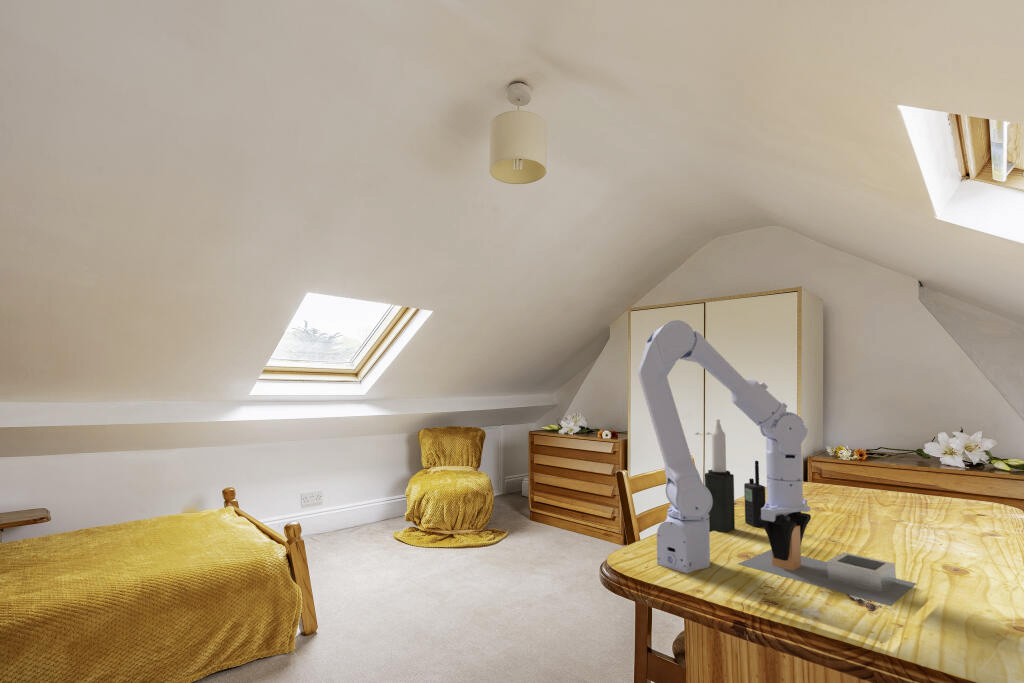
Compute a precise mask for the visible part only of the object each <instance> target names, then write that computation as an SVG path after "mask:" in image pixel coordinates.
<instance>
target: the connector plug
mask: <svg viewBox="0 0 1024 683" xmlns="http://www.w3.org/2000/svg"><path fill="white" fill-rule="evenodd" d="M785 518H786V520H787V521H790V516H787V515H785V516H784V519H785ZM801 545H802V542H800V526H799V525H795V527H794V529H793V532H792V535H791V540H790V550H789V557H788V560H787V561H784V560H780V559H776V558H774V556H773V552H772V565H774V566H777V567H781V568H785V569H789V570H795V569H797V568H799V567H801V556H802V549H801V548H802V546H801Z"/></svg>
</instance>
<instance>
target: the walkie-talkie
mask: <svg viewBox="0 0 1024 683" xmlns="http://www.w3.org/2000/svg"><path fill="white" fill-rule="evenodd" d="M759 462H760V461H759V460H755V461H754V475H755V476H754V478H755V479H754V478H749V482H745V483H744V484H743V485H744V486H743V487H744V489H743V491H744V521H745V522H744V523H745V524H748V525H749V526H752V527H755V528H764V527H763V525H762V524H761V522H760V515H761V508H763V507H764V506H765V503H766V487H765V485H762V484H760V470H759V469H760V467H759V465H760V464H759Z"/></svg>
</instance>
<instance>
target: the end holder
mask: <svg viewBox="0 0 1024 683" xmlns="http://www.w3.org/2000/svg"><path fill="white" fill-rule="evenodd" d="M826 562H827V566H828V580H831V581H835V582H839V583H842V584H846V585H850V586H854V587H858V588H862V589H865V590H869V591H873V592H877V593H881V594H882V593H883V592H884V591H886V590H887V589H888V588H889V587H891V586H892V585H893V584H895V583H896V579H897V578H896V576H897V575H896V563H894V562H891V561H885V560H881V559H875V558H872V557H866V556H863V555H859V554H858V555H857V554H853V553H849V552H844V551H843V552H841V553H839V554H837V555H836V556H834V557H832V558H830V559H829V560H828V559H827V561H826Z"/></svg>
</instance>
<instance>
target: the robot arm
mask: <svg viewBox="0 0 1024 683" xmlns="http://www.w3.org/2000/svg"><path fill="white" fill-rule="evenodd" d="M679 360H683V361H687V362H693V363H697V364H699V365H700V366H701V367H702V368H703V369H704V370H706V371H707V372H708V374H710V375H711V376H712V377H713V378H715V379H716V380H717V381H718V382H720V383H721V384H722V385H723V386H724V387H726V389H728V390H729V391H730V393H731V394H730V395H731V401H732V403H733V404H734V405H735V407H737V408H738V409H739V410H740V411H741V412H742V413H743V414H745V415H746V416H747V417H748V419H750V420H751V421H752V422H753V423H754V424H755V425H756V426H758V427H759V430H760V433H761V435H762V436H763V437H765V445H766V446H765V449H766V450H765V456H766V457H765V459H766V460H765V461H766V466H765V467H766V500H765V506H764V507H763V508H761V515H760V522H761V524H762V525H763V527H762V528H763V529H764V530H765V533H766V535H767V538H768V541H769V544H770V548H771V549H772V552H773V556H774V558H776V559H780V560H784V561H787V560H788V557H789V550H790V540H791V535H792V532H793V529H794V527H795V525H799V526H800V542H801V543H802V542H803V538H804V537H803V536H804V533H805V532H806V528H807V526H808V525H809V523H810V521H811V518H812V517H811V514H810V513H807V512H810V511H811V507H810V506H809V505H808V498H804V495H803V494H804V493H803V492H804V490H803V488H804V486H803V457H802V454H803V453H802V443H803V441H804V440H806V437H807V435H808V431H809V430H808V428H807V427H806V425H804V424H805V422H804V421H803V419H802V417H801V416H799V415H798V414H796V413H794V412H791V411H787V408H788V405H787V404H786V403H785V402H782V401H781V402H780V401H779V400H778V399H777V398H776V397H775V396H774V395H773V394H772V393H770V391H768V390H767V389H768V387H769V386H768V385H767V384H766V383H765V382H761V381H760V382H759V381H757V380H756V379H746V378H744V377H743V376H742V375H741V373H739V372H738V371H737V370H736V369H735V368H734V367H733V365H731V363H729V362H728V361H727V360H726V358H724V356H722V354H720V353H719V352H718V350H716V349H715V347H714V346H712V345H711V344H710V342H709V341H708V340H707V339H706V338H705V336H703V335H702V334H701V333H700V332H698V331H696V330H693V328H692V327H691V326H690V325H689V323H687V322H686V321H684V320H679V319H678V320H677V319H675V320H673V319H672V320H670V321H667V322H666V323H665V324H664V325H661V326H659V327H657V328H656V329H654V330H653V332H652V333H651V334H650V335H649V337H648V338H647V340H646V341H645V345H644V349H643V352H642V357H641V360H640V363H639V367H638V369H637V370H638V371H637V374H638V375H637V376H638V379H639V382H640V385H641V389H642V391H643V392H642V393H643V396H644V399H645V402H646V406H647V410H648V412H649V415H650V419H651V423H652V425H653V429H654V433H655V436H656V439H657V442H658V446H659V450H660V453H661V456H662V459H663V463H664V474H665V477H666V482H665V483H666V485H665V490H664V491H665V496H666V498H667V500H668V502H670V505H669V507H668V509H667V514H666V518H665V520H664V521H663V522H661V523H660V524H659V526H658V527H657V531H656V563H657V565H659V566H661V567H665V568H667V569H672V570H675V571H677V572H681V573H684V574H689V573H692V572H694V571H698V570H702V569H708V568H709V567H710V566H711V553H710V552H711V550H710V549H711V546H710V545H711V542H710V538H711V537H710V533H711V532H709V514H708V513H709V512H710V510H711V508H712V504H713V499H712V495H711V493H710V491H709V490H708V488H707V487H706V486H705V483H703V481H702V479H701V475H700V473H699V471H698V469H697V466H696V465H695V464H694V461H693V459H692V456H691V452H690V448H689V445H688V442H687V439H686V436H685V432H684V429H683V425H682V423H681V419H680V416H679V413H678V408H677V406H676V403H675V400H674V399H675V398H674V397H673V392H672V389H671V385H670V382H669V380H668V375H669V374H670V373H671V371H672V369H673V367H674V366H675V365H676V363H677V362H678V361H679ZM785 515H787V516H790V521H787V520H786V518H785V519H784V516H785ZM771 549H770V550H771Z"/></svg>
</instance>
